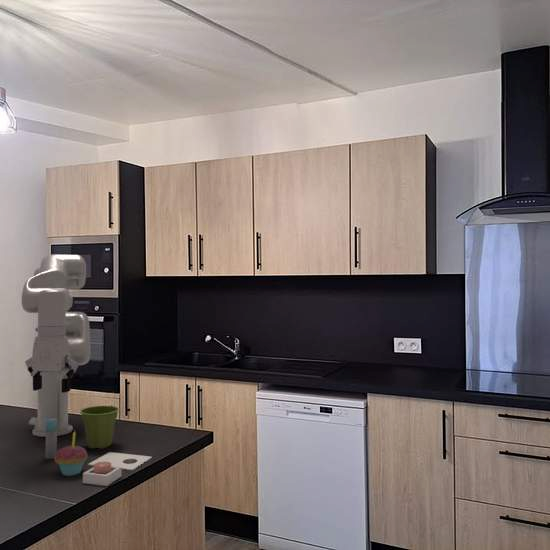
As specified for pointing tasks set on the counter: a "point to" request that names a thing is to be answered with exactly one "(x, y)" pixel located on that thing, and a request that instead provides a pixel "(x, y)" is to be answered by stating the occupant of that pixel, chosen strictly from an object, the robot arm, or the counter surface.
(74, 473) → the cupcake
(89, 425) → the plant pot
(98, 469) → the button
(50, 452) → the marker
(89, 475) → the button housing
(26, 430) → the counter surface
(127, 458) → the paper
